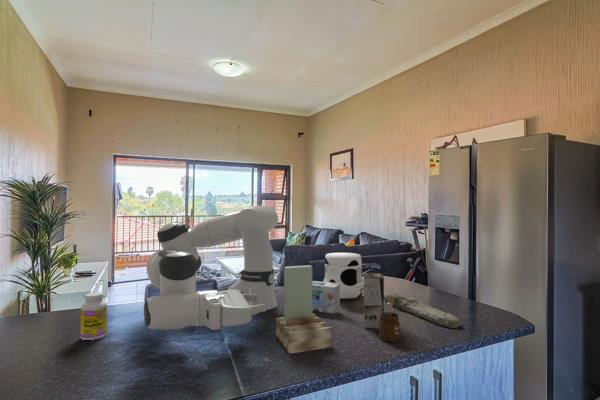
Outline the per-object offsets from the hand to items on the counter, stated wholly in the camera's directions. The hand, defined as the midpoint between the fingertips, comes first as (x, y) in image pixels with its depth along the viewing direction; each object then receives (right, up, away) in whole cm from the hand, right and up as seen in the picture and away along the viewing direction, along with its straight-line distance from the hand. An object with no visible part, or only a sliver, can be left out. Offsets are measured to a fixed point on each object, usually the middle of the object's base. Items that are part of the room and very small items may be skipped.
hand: (261, 302), depth 94 cm
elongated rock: (+54, -13, +30) cm, 63 cm away
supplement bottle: (-51, -13, +6) cm, 53 cm away
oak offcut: (+13, -11, -3) cm, 17 cm away
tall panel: (+10, -11, +4) cm, 15 cm away
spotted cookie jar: (+29, -13, +49) cm, 59 cm away
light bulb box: (+19, -13, +29) cm, 37 cm away
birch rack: (+12, -12, 0) cm, 17 cm away
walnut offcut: (+12, -11, 0) cm, 16 cm away
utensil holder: (+37, -13, +6) cm, 40 cm away
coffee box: (+35, -13, +18) cm, 42 cm away
